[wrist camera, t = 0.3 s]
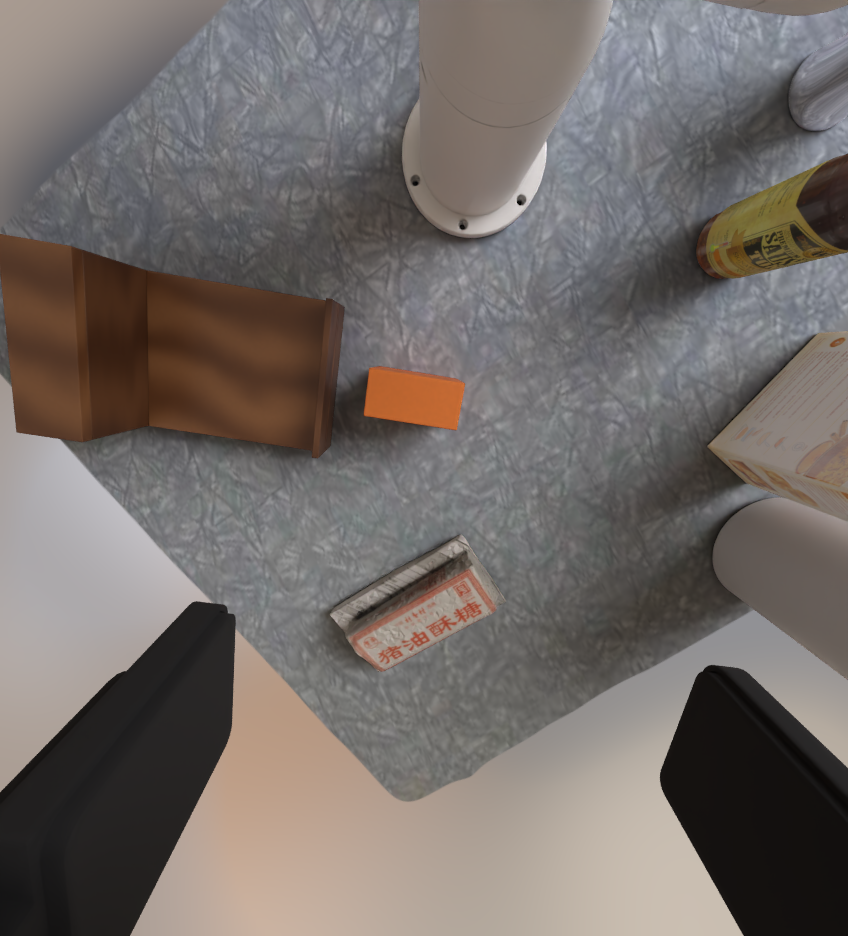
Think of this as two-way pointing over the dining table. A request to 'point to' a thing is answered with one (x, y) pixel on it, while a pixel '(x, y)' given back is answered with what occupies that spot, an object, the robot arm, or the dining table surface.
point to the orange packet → (413, 397)
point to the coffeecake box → (797, 430)
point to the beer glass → (821, 87)
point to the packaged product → (418, 605)
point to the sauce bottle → (780, 225)
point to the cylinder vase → (790, 572)
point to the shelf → (163, 351)
